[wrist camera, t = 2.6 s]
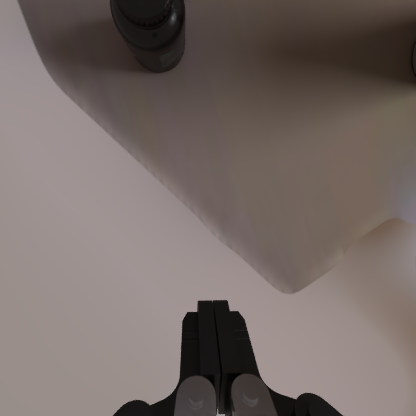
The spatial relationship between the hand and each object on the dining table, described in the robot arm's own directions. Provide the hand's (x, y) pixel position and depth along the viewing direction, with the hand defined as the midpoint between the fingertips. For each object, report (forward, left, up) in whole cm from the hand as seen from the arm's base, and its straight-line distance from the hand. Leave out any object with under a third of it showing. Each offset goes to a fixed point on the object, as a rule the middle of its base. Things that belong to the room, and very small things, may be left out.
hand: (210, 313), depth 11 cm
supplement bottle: (-10, -19, -24) cm, 32 cm away
